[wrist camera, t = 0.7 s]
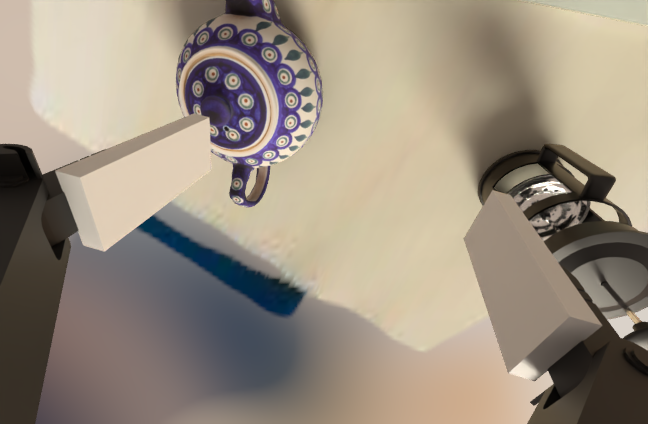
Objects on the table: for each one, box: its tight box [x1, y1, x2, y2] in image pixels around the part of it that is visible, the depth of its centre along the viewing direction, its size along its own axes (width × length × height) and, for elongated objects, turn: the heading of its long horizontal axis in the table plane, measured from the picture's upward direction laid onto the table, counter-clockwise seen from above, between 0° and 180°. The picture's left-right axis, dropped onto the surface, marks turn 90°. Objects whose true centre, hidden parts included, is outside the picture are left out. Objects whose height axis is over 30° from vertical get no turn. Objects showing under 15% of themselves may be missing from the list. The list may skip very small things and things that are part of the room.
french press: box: [479, 144, 648, 351], centre depth 26 cm, size 12×9×23 cm
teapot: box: [176, 0, 323, 207], centre depth 30 cm, size 25×15×15 cm, turn 173°
